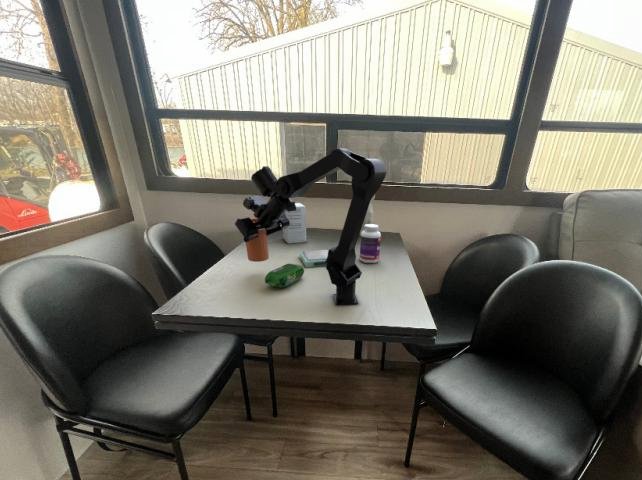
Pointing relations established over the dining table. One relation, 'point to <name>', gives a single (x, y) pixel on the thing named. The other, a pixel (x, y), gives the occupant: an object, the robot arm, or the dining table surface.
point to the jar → (258, 246)
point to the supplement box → (296, 225)
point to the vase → (368, 215)
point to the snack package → (284, 275)
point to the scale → (314, 258)
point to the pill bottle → (370, 244)
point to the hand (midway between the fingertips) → (253, 238)
